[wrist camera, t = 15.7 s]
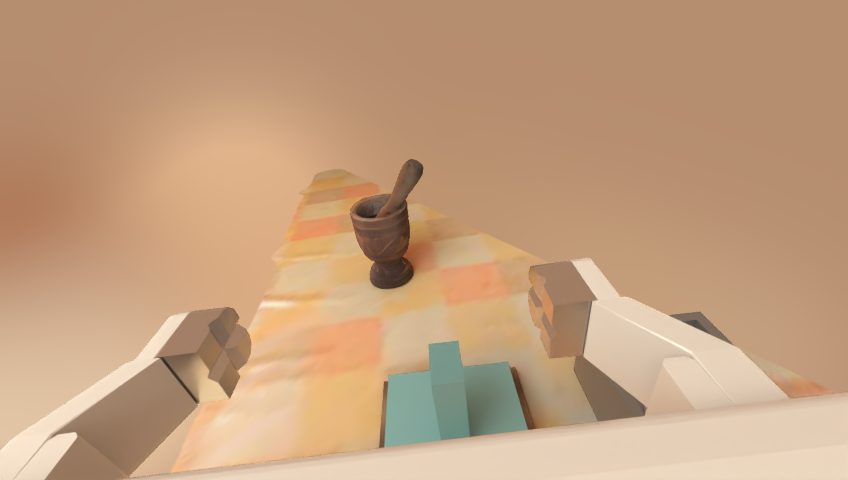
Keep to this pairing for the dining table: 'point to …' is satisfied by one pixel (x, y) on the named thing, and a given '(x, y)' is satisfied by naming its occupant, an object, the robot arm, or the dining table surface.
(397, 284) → the mortar and pestle
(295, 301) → the dining table surface
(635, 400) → the tub
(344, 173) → the dining table surface
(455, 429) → the lid
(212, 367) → the robot arm
